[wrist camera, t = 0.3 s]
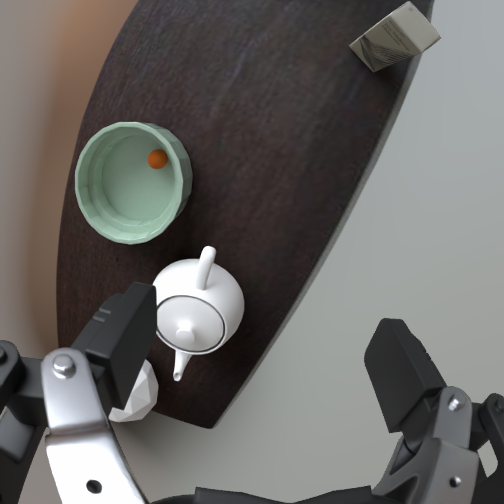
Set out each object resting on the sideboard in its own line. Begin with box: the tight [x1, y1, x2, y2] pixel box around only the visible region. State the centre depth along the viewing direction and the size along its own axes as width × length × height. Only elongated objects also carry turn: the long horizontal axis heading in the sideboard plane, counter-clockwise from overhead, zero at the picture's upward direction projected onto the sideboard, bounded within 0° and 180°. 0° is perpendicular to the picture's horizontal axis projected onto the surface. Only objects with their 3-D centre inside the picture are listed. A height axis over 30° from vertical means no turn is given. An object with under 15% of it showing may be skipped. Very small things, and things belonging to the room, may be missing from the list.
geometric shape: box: [109, 359, 158, 422], centre depth 42 cm, size 14×15×15 cm
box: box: [349, 1, 441, 72], centre depth 22 cm, size 5×4×13 cm
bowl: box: [75, 122, 193, 244], centre depth 33 cm, size 15×15×6 cm
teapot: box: [153, 246, 244, 381], centre depth 37 cm, size 22×14×11 cm, turn 162°
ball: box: [148, 149, 168, 169], centre depth 33 cm, size 3×3×3 cm
